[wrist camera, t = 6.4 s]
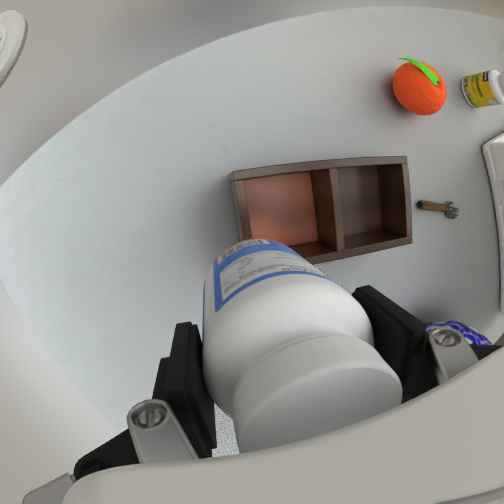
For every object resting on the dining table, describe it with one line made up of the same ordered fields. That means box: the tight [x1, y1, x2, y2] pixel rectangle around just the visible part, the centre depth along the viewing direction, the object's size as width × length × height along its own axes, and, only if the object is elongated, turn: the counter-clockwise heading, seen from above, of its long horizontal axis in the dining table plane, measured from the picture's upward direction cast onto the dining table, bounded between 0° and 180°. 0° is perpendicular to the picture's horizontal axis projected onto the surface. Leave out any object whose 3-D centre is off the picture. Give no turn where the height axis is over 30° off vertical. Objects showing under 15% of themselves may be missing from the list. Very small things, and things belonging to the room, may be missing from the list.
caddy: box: [229, 156, 412, 265], centre depth 27 cm, size 9×17×6 cm, turn 99°
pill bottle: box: [202, 238, 402, 454], centre depth 11 cm, size 6×6×11 cm
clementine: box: [393, 58, 446, 115], centre depth 24 cm, size 8×7×7 cm
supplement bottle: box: [461, 70, 504, 108], centre depth 24 cm, size 5×5×10 cm
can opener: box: [417, 201, 459, 219], centre depth 31 cm, size 9×2×1 cm, turn 81°
